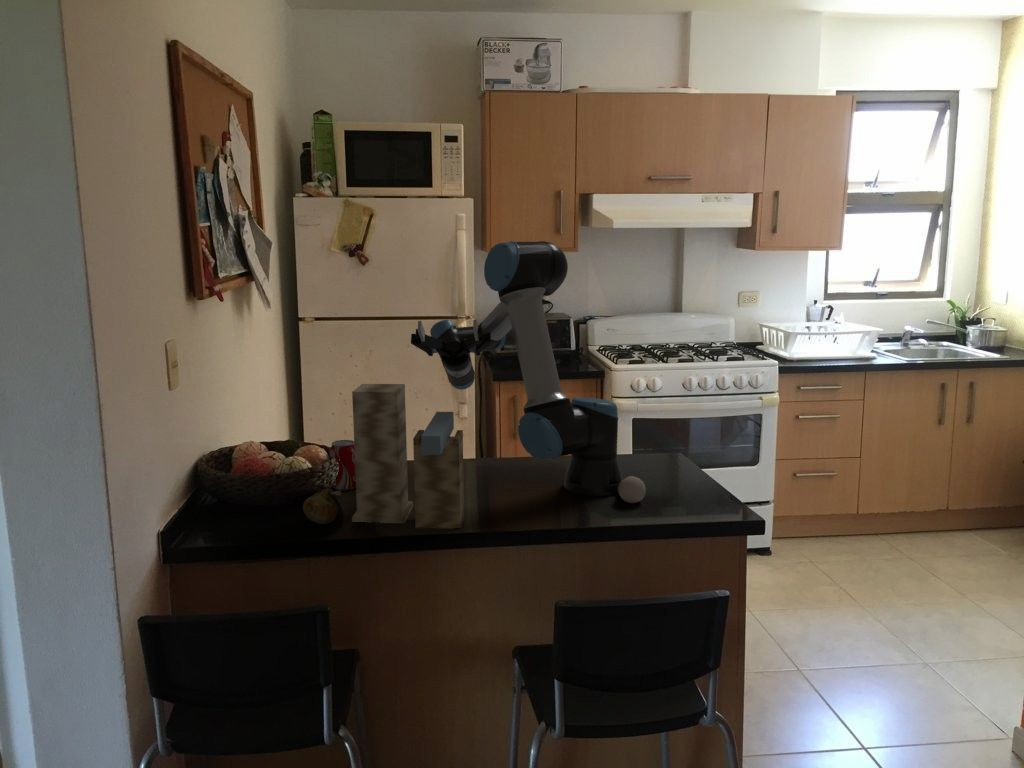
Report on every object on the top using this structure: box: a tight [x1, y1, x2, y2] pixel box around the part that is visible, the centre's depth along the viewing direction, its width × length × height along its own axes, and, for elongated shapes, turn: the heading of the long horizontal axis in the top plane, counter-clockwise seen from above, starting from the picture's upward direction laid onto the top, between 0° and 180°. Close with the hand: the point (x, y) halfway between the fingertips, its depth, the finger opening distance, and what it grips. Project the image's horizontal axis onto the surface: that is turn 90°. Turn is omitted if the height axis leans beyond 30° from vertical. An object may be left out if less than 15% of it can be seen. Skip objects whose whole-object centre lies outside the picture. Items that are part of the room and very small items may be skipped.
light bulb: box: [617, 475, 647, 504], centre depth 204 cm, size 7×7×11 cm
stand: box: [351, 383, 414, 524], centre depth 192 cm, size 12×12×30 cm
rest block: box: [412, 429, 465, 529], centre depth 187 cm, size 10×8×20 cm
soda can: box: [329, 439, 356, 492], centre depth 214 cm, size 7×7×12 cm
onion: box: [302, 488, 342, 525], centre depth 189 cm, size 8×8×8 cm
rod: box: [421, 411, 455, 455], centre depth 185 cm, size 4×24×4 cm, turn 177°
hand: (447, 325), depth 204 cm, fingers open, 13 cm apart
